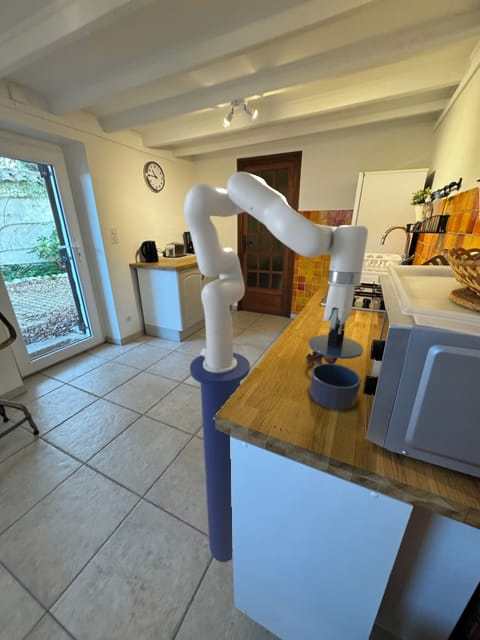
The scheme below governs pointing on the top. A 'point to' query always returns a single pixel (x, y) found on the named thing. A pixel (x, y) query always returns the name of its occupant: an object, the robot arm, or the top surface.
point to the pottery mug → (319, 359)
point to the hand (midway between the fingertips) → (335, 344)
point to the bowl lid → (343, 352)
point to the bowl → (334, 386)
